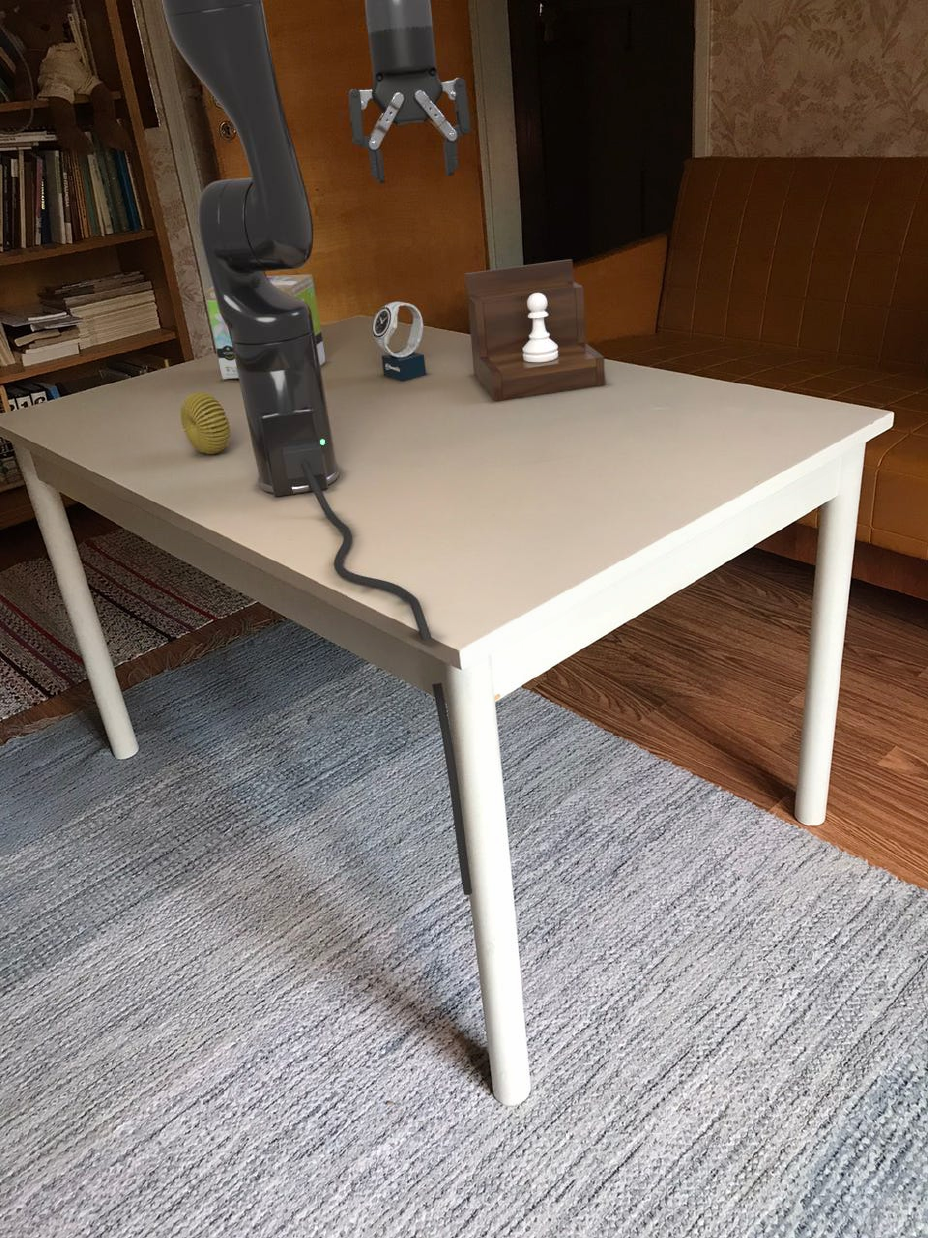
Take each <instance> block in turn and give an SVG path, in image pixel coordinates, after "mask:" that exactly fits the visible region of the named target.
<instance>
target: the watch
mask: <svg viewBox="0 0 928 1238" xmlns="http://www.w3.org/2000/svg"><path fill="white" fill-rule="evenodd" d="M402 306H404V307H406V308H407V309H408V310H409V311H410V313H411V314H412V317H413V318H412V324H411V327H410V334H409V337H408V340H407V342H406V344H407V346H406V347H405V348H404V349H401V350H397V351H394V352H393V351H391V349H390V348H389V347H388V346H389V344H390V340H391V337H392V336H393V335H394V334H395V331H396V329H397V328H398V313H399V310H400V307H402ZM424 326H425V325H424V322H423V317H422V314H421V311H420V310H419V309H418V308H417V307H416V306H415V305H414V304H411V303H408V302H402V301H392V302H389V303H387V304H386V305H384V306H382V307H380V308H379V309H378V311H377V312H376V314H375V315H374V317H373V320H372V324H371V332H372V335H373V337H374V341H375V343H376V345H377V347H378V349H379V350H380V351H382V352H383V353H384V354H383V355H381V365H382V371H383V376H384V377H388V378H391V379H394V380H397V381H400V382H405V381H408V380H412V379H416V378H419V377H422V376H425V375H427V369H426V362H425V354H423V353H419V352H416V351H415V350H417V349H418V348H419V345H420V343H421V341H422V337H423V332H424Z"/></svg>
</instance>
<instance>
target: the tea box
mask: <svg viewBox="0 0 928 1238" xmlns="http://www.w3.org/2000/svg"><path fill="white" fill-rule="evenodd" d="M266 276H267V278H268V280H269V281H270V282H271V283H272V284H273V285H274V286H275V287H276V288H278V289H279V290H281V291H282V292H284V293H286V294H288V295H290V296H293V297H295V298H298V299H300V300H302V301H304V302H305V303H306V304H307V305H308V306H309V307H310V310H311V314H312V319H313V325H314V331H315V337H316V343H317V349H318V356H319V362H320V367H321V366H322V365H323V364H325V362H326V356H325V349H324V342H323V334H322V329H321V328H322V327H321V322H320V316H319V309H318V302H317V296H316V295H317V294H316V290H315V289H316V288H315V283H314V277H313V274H311V273H309V274H288V275H287V274H286V275H266ZM204 296H205V301H206V306H207V307H206V308H207V312H208V316H209V321H210V326H211V331H212V337H213V341H214V347H215V350H216V355H217V356H216V357H217V360H218V364H219V369H220V373H221V378H222V380H233V379H239V377H238V372H237V367H236V362H235V357H234V352H233V347H232V342H231V338H230V333H229V329H228V327H227V325H226V323H225V321H224V320H223V318H222V316H221V313H220V311H219V308H218V304H217V300H216V296H215V292H214V289H213V286H211V287H209V288H208V289H204Z"/></svg>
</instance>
